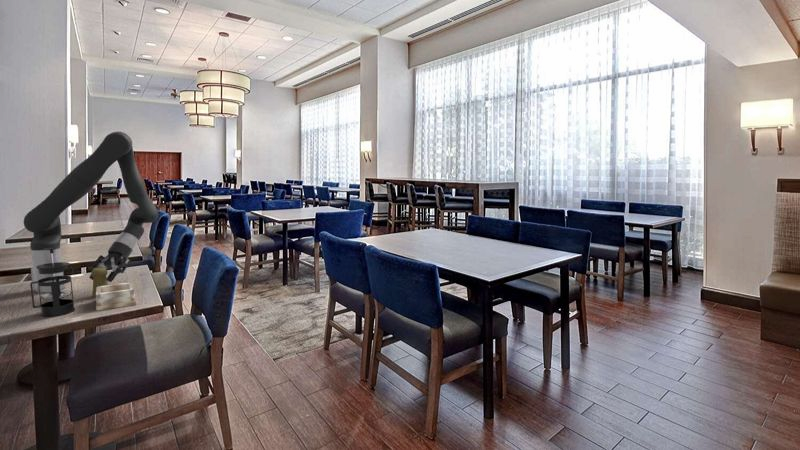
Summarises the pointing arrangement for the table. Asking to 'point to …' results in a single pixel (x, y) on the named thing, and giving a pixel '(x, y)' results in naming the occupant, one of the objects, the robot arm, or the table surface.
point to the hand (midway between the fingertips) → (100, 280)
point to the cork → (98, 279)
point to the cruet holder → (115, 296)
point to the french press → (54, 289)
